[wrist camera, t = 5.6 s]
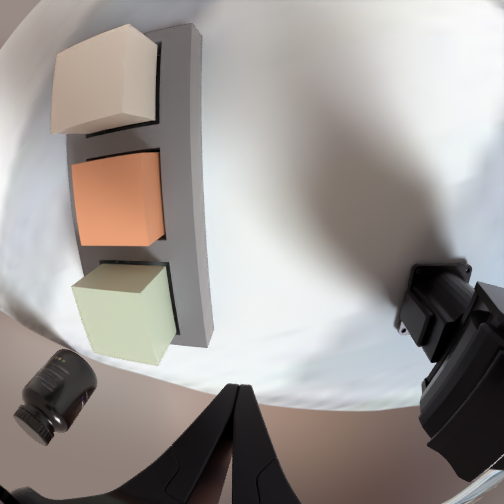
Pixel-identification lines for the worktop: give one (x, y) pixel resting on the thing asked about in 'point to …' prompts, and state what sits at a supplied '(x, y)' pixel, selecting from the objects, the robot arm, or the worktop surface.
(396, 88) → the worktop surface
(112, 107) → the cream button
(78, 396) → the supplement bottle
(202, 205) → the console
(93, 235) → the terracotta button
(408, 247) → the worktop surface
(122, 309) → the sage button
